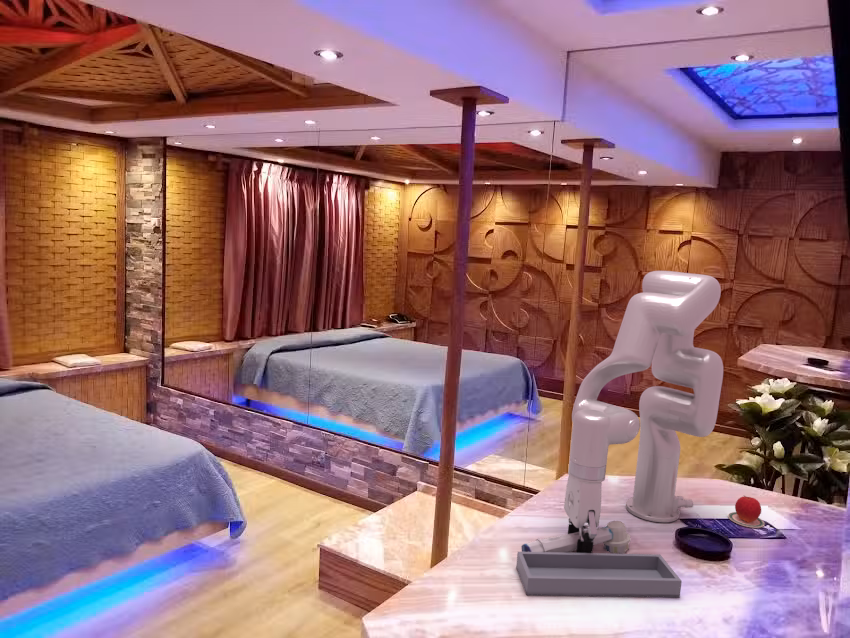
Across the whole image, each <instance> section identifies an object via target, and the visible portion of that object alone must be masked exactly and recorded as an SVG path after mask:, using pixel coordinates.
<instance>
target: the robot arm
mask: <svg viewBox="0 0 850 638" xmlns="http://www.w3.org/2000/svg"><path fill="white" fill-rule="evenodd" d="M641 285H642V292H639V293H637V294H634V295H633V296H632V297H631V298H630V299H629V300H628V303H627V306H626V309H625V311H624V315H623V317H622V322H621V325H620V327H619V331H618V333H617V335H616V336H617V337H616V340H615V342H614V346H613V349H612V351H611V353H610V355H609V356H608V357H607V358H605V359H604V360H602V361H601V362H599V363H598V364H597V365H596V366H594V367H593V368H592V369H591V370H590V372H588V374H586V376H585V377H584V378H583V380H582V382H581V383H580V385H579V389H578V391H577V394H576V397H575V400H574V403H573V408H572V413H571V422H572V430H571V431H572V432H571V441H570V450H569V463H568V473H567V474H568V478H567V483H566V489H565V495H564V496H565V497H564V503H563V504H564V505H563V509H564V512H565V514H566V515H567V517H568V523H569V524H567V534H571V533H576V532H579V535H580V539H578V541H577V550H575V553H593V549H594V545H593V542H594V538H595V537H596V536H597V530H596V528H599V527H600V526H599V525H600V520H601V513H602V512H601V511H602V491H603V490H602V488H603V487H602V483H603V482H604V481H605V480H606V474H607V473H606V471H607V465H608V453H609V446H610V445H624V444H627V443H630V442H632V440H634V439H635V438H636V437H637V435H638V434H639V441H638V451H637V460H636V469H635V478H634V484H633V485H634V486H633V487H634V488H633V496H632V497H628V499H626V501H625V508H626V511H628V512H629V513H630V514H632V515H633V516H635V517H637V518H640V519H642V520H645V521H650V522H655V523H673V522H676V520H678V519H679V518H680V509H681V508H688V509H691V508H693V507H694V500H692V499H686V498H685V499H684V496H681V495H679V496H678V495H677V496H676V487H677V480H678V470H679V464H680V455H681V443H680V439H679V437H678V434H677V432H679V433H682V434H685V435H686V434H687V435H689V436H693V437H699V438H705V437H708V436H709V435H710V434H711V433H712V432H713V430H714V429H715V425H716V423H717V418H718V411H719V405H720V398H721V391H722V386H723V379H724V364H723V360H722V358H721V357H722V356H720V355H719V354H718V353H717V352H715V351H713V350H710V349H705V348H701V347H695V345H694V336H695V335H694V334H695V330H696V329H697V328H698V327H699V325H701V324H702V322H704V320H705V319H706V318H708V316H710V314H712V313H713V311H714V310H715V309H716V308H717V305H718V304H719V302H720V298H721V294H722V293H721V292H722V289H721V284H720V283H719V281H718V280H717V279H716V278H715V277H714V276H711V275H707V274H701V273H700V274H699V273H690V272H681V271H680V272H679V271H673V270H672V271H671V270H653V271H649V272H647V273H646V274H645V275H644V276H643V280H642V284H641ZM650 367H651V374H652V375H653V377H654V378H656V379H658V380H659V381H662V382H665V383H668V384H673V385H677V386H682V387H685V388H690V389H691V390H693V393H690V392H687V391H683V390H679V389H676V388H675V389H674V388H671V387H667V386H661V385H660V386H659V385H655V386H651V387H648V388H645V390H644V391H643V392H642V393H641V394H640V397H639V403H638V407H639V411H638V412H639V416H638V414H636V413H635V412H633V411H632V410H631V409H628V408H626V407H625V408H624V407H622V406H618V405H614V404H611V403H607V402H604V401H600V400H598V397H599V395H600V392H601V390H602V389H603V388H604V387H605V386H606V385H607V384H608V383H609V382H610V381H612V380H614V379H616V378H618V377H622V376H624V375H629V374H634V373H638V372H644V371H646V370H647V369H649V368H650ZM586 524H587V525H586ZM585 530H588V532H586V533H585V534H584V531H585Z"/></svg>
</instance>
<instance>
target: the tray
mask: <svg viewBox="0 0 850 638" xmlns="http://www.w3.org/2000/svg"><path fill="white" fill-rule="evenodd" d="M515 566H516V570H517V574H518V575H519V579H520V581H521V584H522V586H523V589H524V592H525V594H526V596H537V597H538V596H541V597H542V596H544V597H545V596H546V597H547V596H548V597H549V596H550V597H556V596H557V597H598V598H599V597H600V598H601V597H604V598H605V597H607V598H608V597H611V598H612V597H613V598H668V599H669V598H671V599H672V598H673V599H674V598H675V599H677V598H678V599H679V598H680V597H681V588H682V583H683V582H682V579H681V578H680V577H679V575H678V574H677V573H676V572H675V570H674V569H673V568H672V566H671V565H670V564H669V563H668V562H667V561H666V560H665V558H664V557H663V556H662V555H661V554H655V553H654V554H652V553H651V554H649V553H622V554H619V553H610V552H608V553H607V552H605V553H602V552H601V553H600V552H592V553H576V552H568V553H563V552H522V551H517V557H516V565H515Z"/></svg>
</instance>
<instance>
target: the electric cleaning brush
mask: <svg viewBox="0 0 850 638" xmlns="http://www.w3.org/2000/svg"><path fill="white" fill-rule="evenodd" d="M588 530H589V529H585V530H584V534H585V533H586V532H588ZM596 530H597V536H596V537H595V538H594V542H593V546H596V545H598V544H603V549H604V550H605V551H606V553H607V552H608V553H611V554H626V551H629V547H630V546H629V543H631V540H632V539H631V534H629V533H628V532H627V527H626V525H625V523H624V522H623V521H620V520H611V521H609V522H608V523H607V524H606V526H601V527H597V528H596ZM578 539H580V535H579V532H576V533H571V534H568V533H566V534H562V535H557V536H552V537H551V536H550V537H547V538H542V539H541V538H539V537H538V538H536V539H535V540H533V541H531V542H526V543H523V544H522V545H521V552H563V553H573V552H576V551H577V541H578Z"/></svg>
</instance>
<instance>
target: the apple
mask: <svg viewBox="0 0 850 638" xmlns="http://www.w3.org/2000/svg"><path fill="white" fill-rule="evenodd" d="M734 505H735V506H734V509H735V511H732V512H729V513H728V514H727V517H728V519H729V520H730V521H732V522H733V523H736V524H737V525H740V526H742V527H747V528H751V529H752V528H755V529H757V528H758V529H759V528H763V527H764V526H765V522H764V520H763V519H761V518H760V516H761V514H762V507H761V503H760V502H759V501H758V499H756V498H754V497H751V496H746V495H744V496H741V497H739V498H738V499H737V500H736V501H735V504H734Z"/></svg>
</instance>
